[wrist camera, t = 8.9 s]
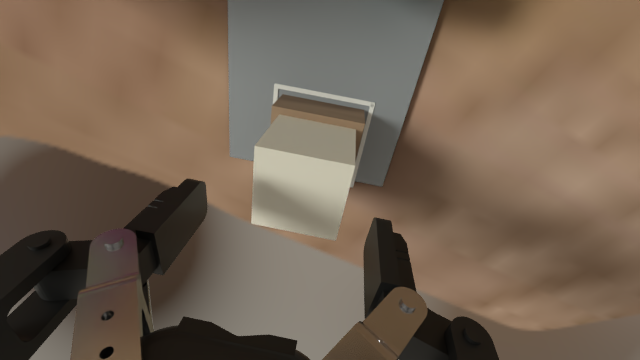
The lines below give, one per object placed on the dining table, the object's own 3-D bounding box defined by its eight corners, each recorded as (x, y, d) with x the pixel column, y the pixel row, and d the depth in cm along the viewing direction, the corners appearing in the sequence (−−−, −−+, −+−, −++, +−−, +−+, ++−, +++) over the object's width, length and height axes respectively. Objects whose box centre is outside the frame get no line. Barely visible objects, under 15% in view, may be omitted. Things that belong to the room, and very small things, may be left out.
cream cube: (279, 114, 18) (254, 145, 14) (355, 129, 18) (355, 165, 13) (273, 179, 20) (251, 223, 16) (340, 193, 20) (335, 240, 16)
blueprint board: (228, -129, 15) (225, -133, 14) (470, -85, 15) (473, -88, 14) (231, 160, 24) (229, 163, 24) (379, 190, 24) (380, 193, 23)
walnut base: (282, 94, 20) (271, 105, 18) (364, 109, 20) (364, 123, 17) (276, 165, 23) (266, 184, 21) (346, 179, 23) (345, 200, 21)
